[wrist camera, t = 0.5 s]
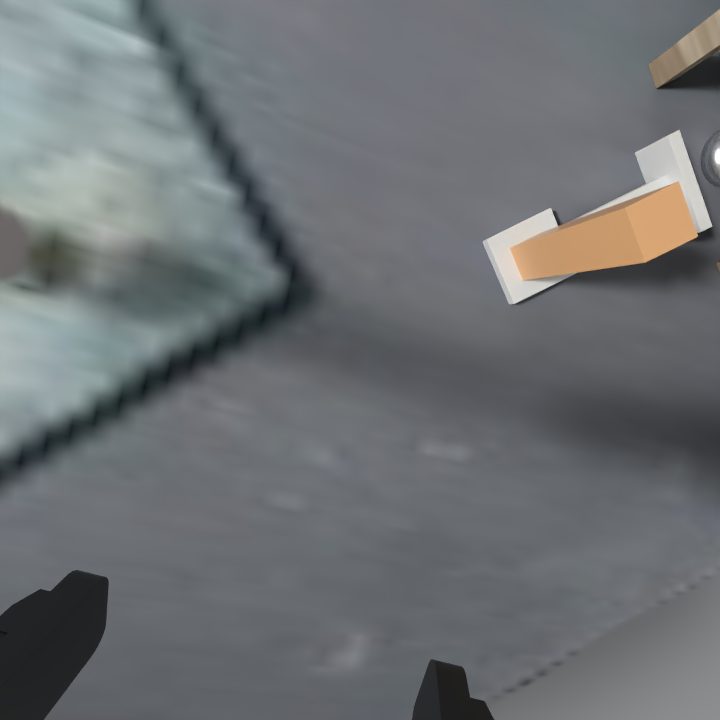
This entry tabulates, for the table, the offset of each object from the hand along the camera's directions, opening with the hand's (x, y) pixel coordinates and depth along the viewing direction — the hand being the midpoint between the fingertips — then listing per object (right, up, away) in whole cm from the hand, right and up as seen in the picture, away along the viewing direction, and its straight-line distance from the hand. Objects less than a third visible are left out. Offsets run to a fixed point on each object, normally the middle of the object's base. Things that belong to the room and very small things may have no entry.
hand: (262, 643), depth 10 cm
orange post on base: (+21, +18, +26) cm, 38 cm away
